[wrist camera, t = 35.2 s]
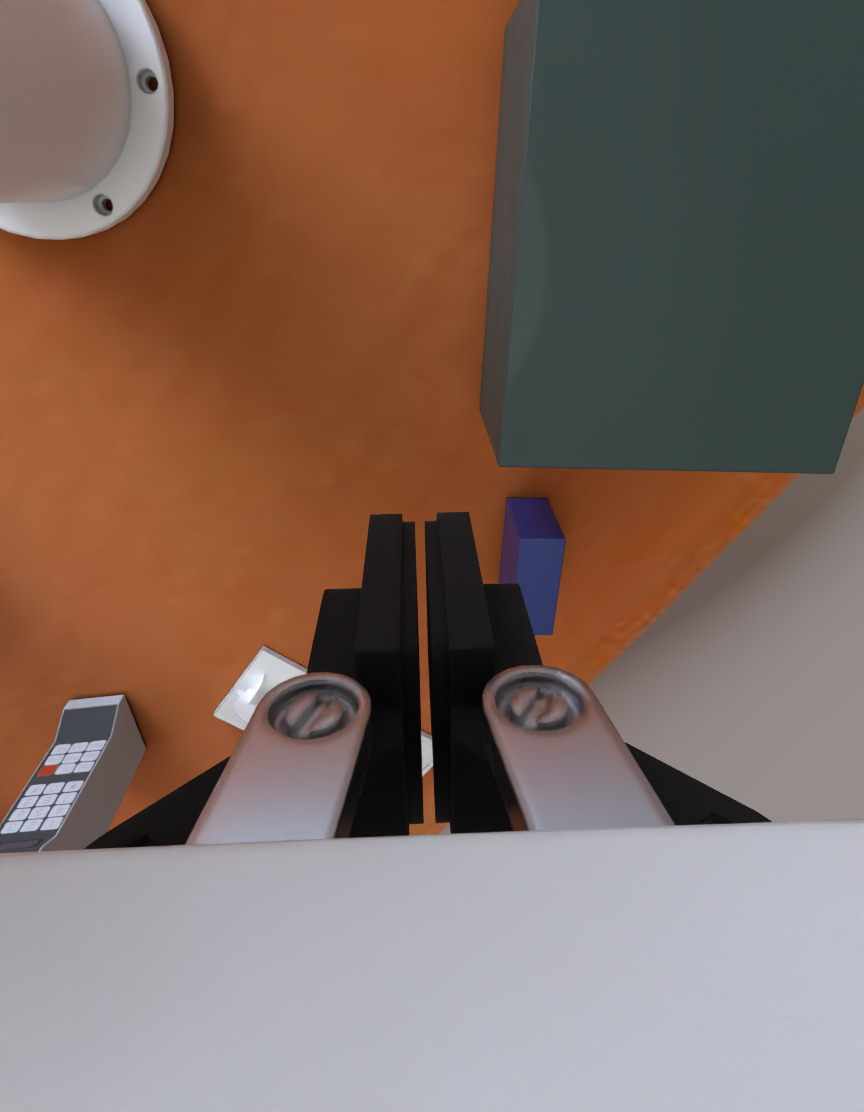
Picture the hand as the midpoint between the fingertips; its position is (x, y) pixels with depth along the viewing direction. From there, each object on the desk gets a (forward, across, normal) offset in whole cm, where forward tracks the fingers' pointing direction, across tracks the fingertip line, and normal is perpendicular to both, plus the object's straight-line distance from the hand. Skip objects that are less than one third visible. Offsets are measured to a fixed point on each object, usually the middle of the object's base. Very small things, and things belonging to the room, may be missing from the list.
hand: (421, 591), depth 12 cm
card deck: (+26, -6, +13) cm, 30 cm away
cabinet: (+26, -11, -4) cm, 29 cm away
